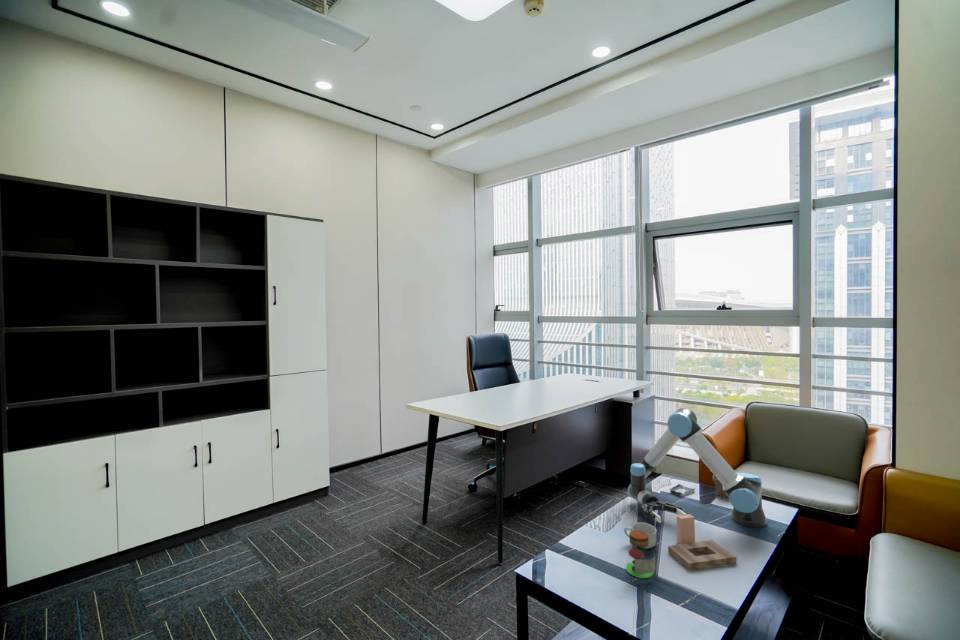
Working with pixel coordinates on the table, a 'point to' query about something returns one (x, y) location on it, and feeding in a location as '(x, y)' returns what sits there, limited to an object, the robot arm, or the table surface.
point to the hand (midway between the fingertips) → (673, 518)
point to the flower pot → (719, 487)
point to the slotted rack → (692, 562)
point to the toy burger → (640, 556)
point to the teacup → (645, 528)
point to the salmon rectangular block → (685, 529)
